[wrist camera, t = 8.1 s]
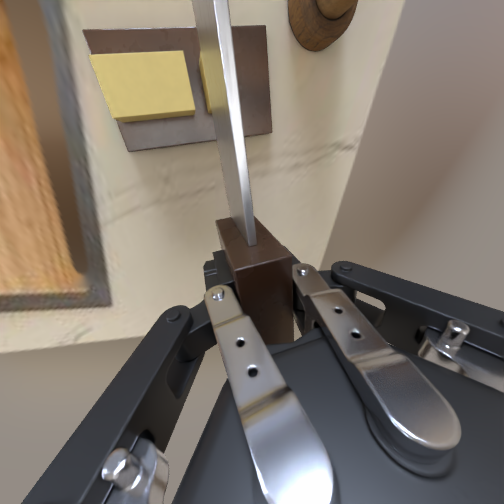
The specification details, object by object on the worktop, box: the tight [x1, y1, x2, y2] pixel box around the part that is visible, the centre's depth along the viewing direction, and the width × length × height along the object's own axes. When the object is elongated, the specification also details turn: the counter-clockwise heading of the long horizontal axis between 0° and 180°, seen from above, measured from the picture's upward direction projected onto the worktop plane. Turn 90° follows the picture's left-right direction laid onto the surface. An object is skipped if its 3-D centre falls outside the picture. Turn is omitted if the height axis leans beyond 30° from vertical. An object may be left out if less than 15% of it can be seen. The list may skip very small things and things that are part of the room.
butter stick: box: [88, 51, 195, 123], centre depth 18 cm, size 4×7×3 cm, turn 98°
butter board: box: [82, 25, 272, 152], centre depth 20 cm, size 9×16×1 cm, turn 98°
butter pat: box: [199, 51, 212, 113], centre depth 19 cm, size 4×2×3 cm, turn 8°
